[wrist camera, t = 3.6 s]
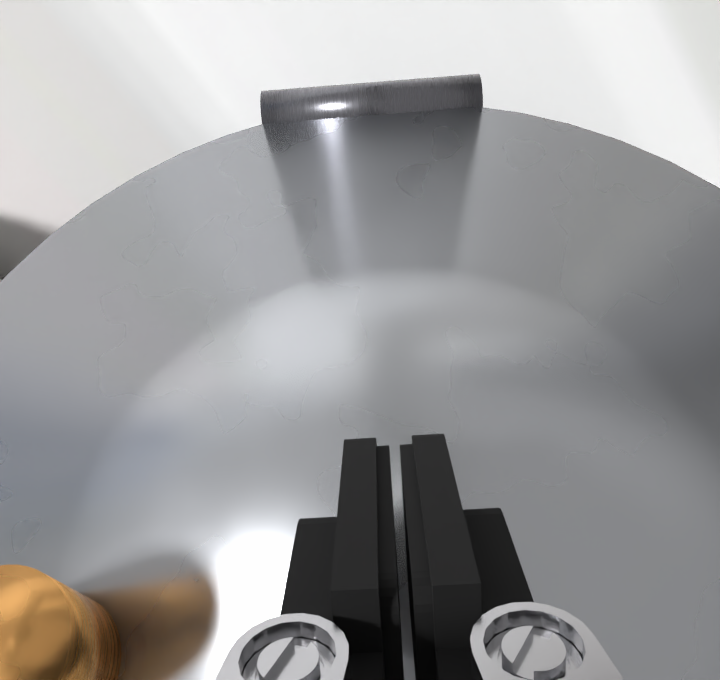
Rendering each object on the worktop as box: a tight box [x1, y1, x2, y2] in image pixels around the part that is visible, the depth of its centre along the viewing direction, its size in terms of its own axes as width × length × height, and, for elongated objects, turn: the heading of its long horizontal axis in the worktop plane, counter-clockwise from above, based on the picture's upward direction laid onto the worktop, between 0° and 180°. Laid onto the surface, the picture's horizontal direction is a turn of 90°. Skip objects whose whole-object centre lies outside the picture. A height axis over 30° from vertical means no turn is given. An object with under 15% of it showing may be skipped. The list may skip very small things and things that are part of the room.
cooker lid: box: [0, 74, 720, 680], centre depth 11 cm, size 27×21×3 cm
